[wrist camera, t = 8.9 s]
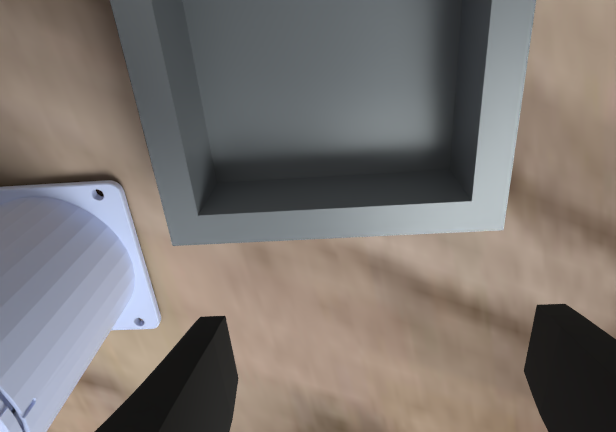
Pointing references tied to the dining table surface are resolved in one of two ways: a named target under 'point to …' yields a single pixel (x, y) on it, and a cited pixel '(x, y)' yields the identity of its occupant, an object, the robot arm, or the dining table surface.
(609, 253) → the dining table surface
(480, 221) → the case
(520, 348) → the dining table surface
